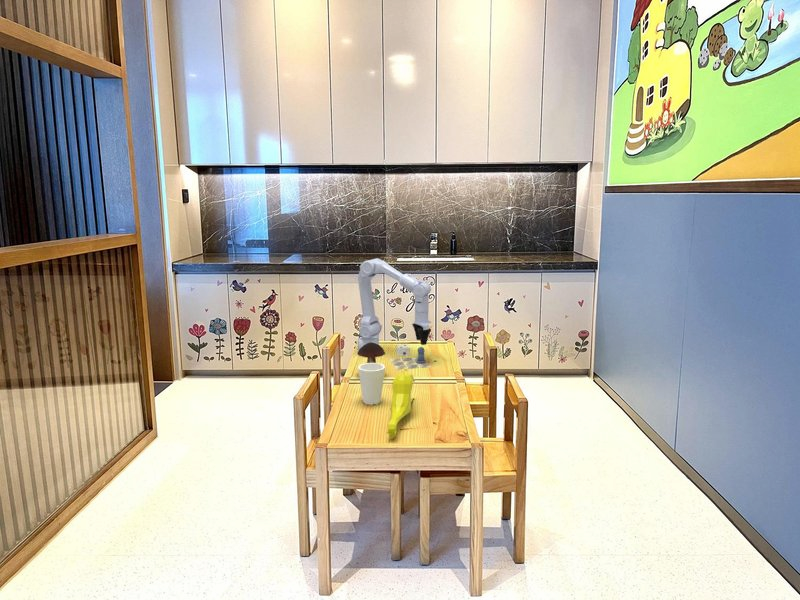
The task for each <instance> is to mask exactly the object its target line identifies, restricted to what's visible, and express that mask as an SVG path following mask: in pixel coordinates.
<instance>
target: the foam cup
mask: <svg viewBox="0 0 800 600" xmlns="http://www.w3.org/2000/svg"><path fill="white" fill-rule="evenodd" d="M385 374H386V367H385V365H384V364H383V363H380V362H379V363H378V362H376V363H367V362H366V363H362V364H360V365H358V376H359V377H358V378H359V383H360V390H361V397H362V401H363V402H364V403H365V404H364V405H367V404H370V405H369V406H374V405H373V404H376V405H379V404H381V401H382V393H383V387H384V379H385ZM363 402H362V403H363ZM378 403H379V404H378Z"/></svg>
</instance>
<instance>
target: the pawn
mask: <svg viewBox="0 0 800 600" xmlns="http://www.w3.org/2000/svg"><path fill="white" fill-rule="evenodd" d="M417 357H418V359H417V360H416V362H417V363H419V364H423V363H426V362H427V360H426V359H425V348H424V347H423V346H419V347H418V348H417ZM416 362H415V363H416ZM417 363H416V364H417Z"/></svg>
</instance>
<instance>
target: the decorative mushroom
mask: <svg viewBox="0 0 800 600" xmlns="http://www.w3.org/2000/svg"><path fill="white" fill-rule="evenodd" d="M356 354H357V355H358V356H359V355H360V356H361V357H362V358H367V360H366V363H377V360H376V358H379V357H382V356H385V355H386V351H385V350H384V348H383V347H382V346H381V345H380V344H379V345H378V344H376V343H372V342H370V343H367V344H365V345H364V346H362V347H361V348H360V349H359V351H358V350H357V353H356ZM360 356H359V357H360Z"/></svg>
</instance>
